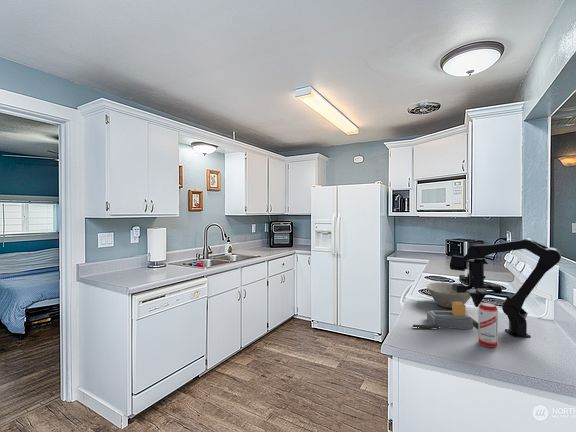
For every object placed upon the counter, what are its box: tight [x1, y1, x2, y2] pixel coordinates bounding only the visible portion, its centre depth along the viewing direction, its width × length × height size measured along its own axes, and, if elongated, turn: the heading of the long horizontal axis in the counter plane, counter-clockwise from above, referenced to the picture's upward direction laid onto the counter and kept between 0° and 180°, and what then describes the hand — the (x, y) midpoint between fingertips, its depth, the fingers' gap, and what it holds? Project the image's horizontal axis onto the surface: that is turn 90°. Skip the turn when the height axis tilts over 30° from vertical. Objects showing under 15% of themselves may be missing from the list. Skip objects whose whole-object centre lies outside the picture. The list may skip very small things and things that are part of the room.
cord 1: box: [412, 324, 440, 330], centre depth 132 cm, size 2×11×2 cm, turn 83°
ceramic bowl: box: [426, 282, 471, 309], centre depth 159 cm, size 22×23×10 cm
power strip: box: [426, 310, 474, 330], centre depth 137 cm, size 10×16×5 cm, turn 83°
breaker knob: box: [451, 301, 466, 316], centre depth 136 cm, size 4×4×6 cm
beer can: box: [477, 301, 499, 348], centre depth 116 cm, size 6×6×16 cm
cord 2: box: [469, 316, 479, 328], centre depth 136 cm, size 11×2×2 cm, turn 173°
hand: (476, 306), depth 135 cm, fingers closed
